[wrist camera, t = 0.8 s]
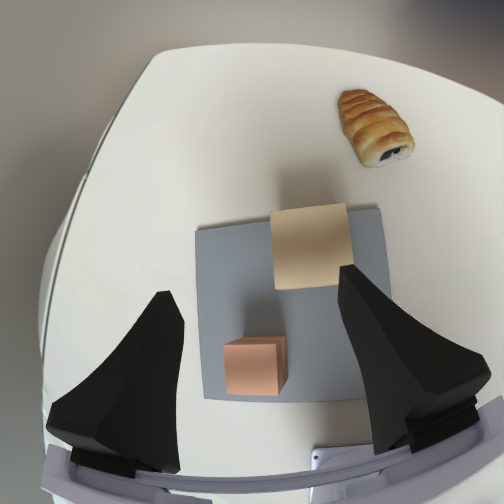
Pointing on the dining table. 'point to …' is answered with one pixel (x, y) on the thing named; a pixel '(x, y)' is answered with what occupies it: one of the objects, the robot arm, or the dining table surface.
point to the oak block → (310, 246)
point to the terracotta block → (256, 365)
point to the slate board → (280, 310)
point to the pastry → (374, 129)
